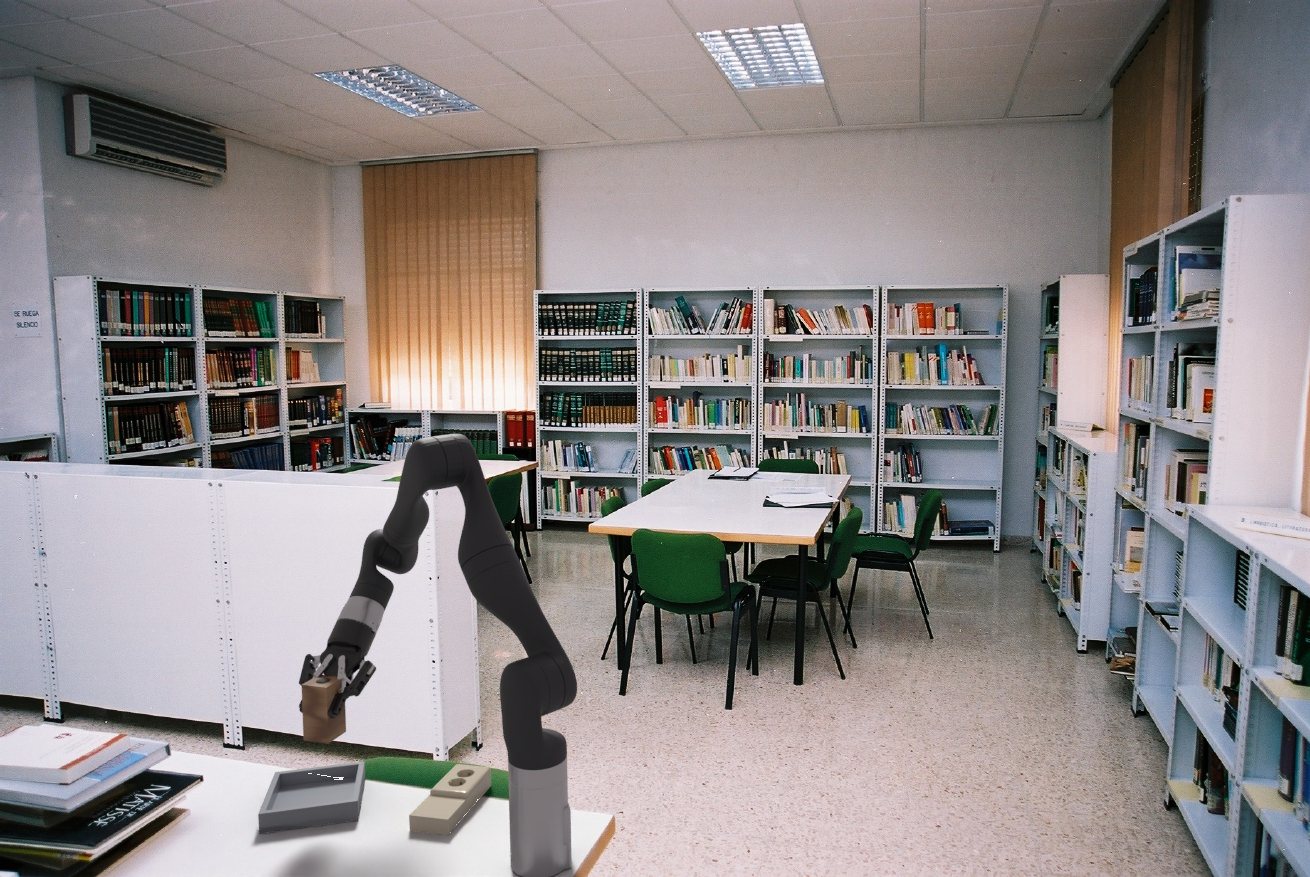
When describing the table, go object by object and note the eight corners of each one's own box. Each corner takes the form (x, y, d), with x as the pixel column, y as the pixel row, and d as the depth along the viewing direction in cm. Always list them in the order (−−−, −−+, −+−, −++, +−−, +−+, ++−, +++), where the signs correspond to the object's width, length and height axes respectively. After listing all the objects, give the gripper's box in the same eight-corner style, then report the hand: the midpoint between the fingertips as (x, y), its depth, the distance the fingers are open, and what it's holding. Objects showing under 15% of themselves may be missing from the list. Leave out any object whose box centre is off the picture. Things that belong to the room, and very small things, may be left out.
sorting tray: (365, 778, 162) (364, 761, 162) (358, 820, 147) (357, 800, 147) (275, 790, 158) (275, 772, 158) (259, 833, 143) (258, 814, 143)
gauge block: (346, 731, 150) (344, 676, 149) (328, 743, 145) (326, 687, 144) (321, 728, 151) (320, 674, 150) (303, 740, 147) (301, 684, 146)
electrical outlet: (409, 809, 143) (456, 762, 161) (409, 832, 143) (456, 783, 161) (447, 814, 142) (491, 766, 159) (448, 837, 142) (491, 787, 159)
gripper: (314, 613, 156) (271, 701, 145) (382, 619, 152) (343, 710, 141) (333, 632, 161) (292, 718, 151) (399, 639, 158) (362, 727, 147)
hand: (317, 714), depth 146 cm, fingers closed on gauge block, 5 cm apart
